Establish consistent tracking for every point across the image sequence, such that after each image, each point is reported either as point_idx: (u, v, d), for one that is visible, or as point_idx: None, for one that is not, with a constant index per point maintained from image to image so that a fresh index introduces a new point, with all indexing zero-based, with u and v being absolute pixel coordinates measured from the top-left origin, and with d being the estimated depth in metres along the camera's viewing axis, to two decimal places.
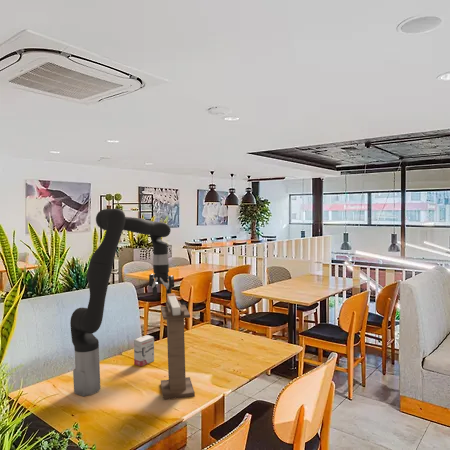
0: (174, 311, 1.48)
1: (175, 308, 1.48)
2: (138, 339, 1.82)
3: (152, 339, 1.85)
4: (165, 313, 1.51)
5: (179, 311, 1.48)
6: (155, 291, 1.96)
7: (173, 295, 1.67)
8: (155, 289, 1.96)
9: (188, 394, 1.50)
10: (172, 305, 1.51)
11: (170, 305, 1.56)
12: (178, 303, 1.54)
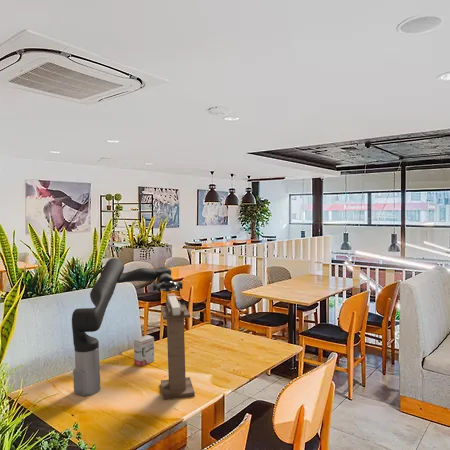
0: (174, 311, 1.48)
1: (175, 308, 1.48)
2: (138, 339, 1.82)
3: (152, 339, 1.85)
4: (165, 313, 1.51)
5: (179, 311, 1.48)
6: None
7: (173, 295, 1.67)
8: None
9: (188, 394, 1.50)
10: (172, 305, 1.51)
11: (170, 305, 1.56)
12: (178, 303, 1.54)
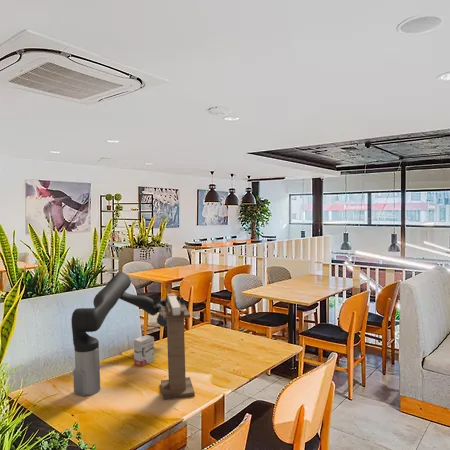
0: (174, 311, 1.48)
1: (175, 308, 1.48)
2: (138, 339, 1.82)
3: (152, 339, 1.85)
4: (165, 313, 1.51)
5: (179, 311, 1.48)
6: None
7: (173, 295, 1.67)
8: None
9: (188, 394, 1.50)
10: (172, 305, 1.51)
11: (170, 305, 1.56)
12: (178, 303, 1.54)
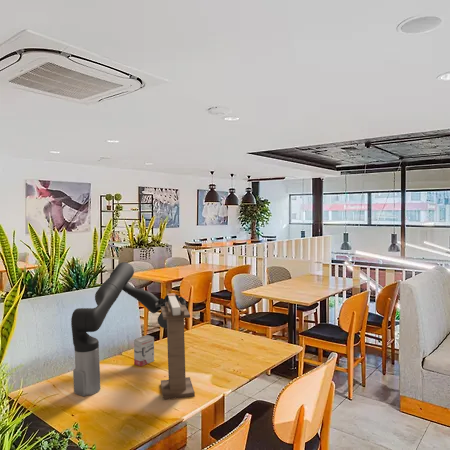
0: (174, 311, 1.48)
1: (175, 308, 1.48)
2: (138, 339, 1.82)
3: (152, 339, 1.85)
4: (165, 313, 1.51)
5: (179, 311, 1.48)
6: None
7: (173, 295, 1.67)
8: None
9: (188, 394, 1.50)
10: (172, 305, 1.51)
11: (170, 305, 1.56)
12: (178, 303, 1.54)
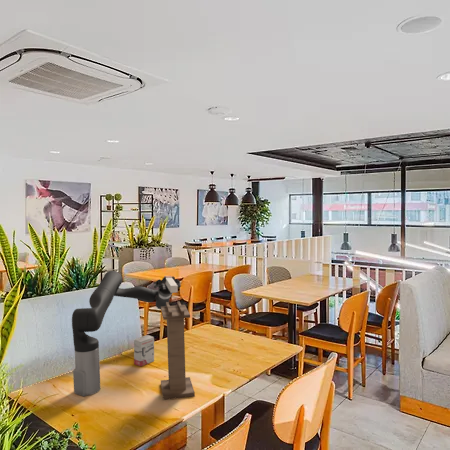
0: (172, 289, 1.68)
1: (173, 286, 1.69)
2: (138, 339, 1.82)
3: (152, 339, 1.85)
4: (165, 313, 1.51)
5: (176, 289, 1.69)
6: None
7: (170, 277, 1.88)
8: None
9: (188, 394, 1.50)
10: (170, 284, 1.72)
11: (168, 284, 1.77)
12: None
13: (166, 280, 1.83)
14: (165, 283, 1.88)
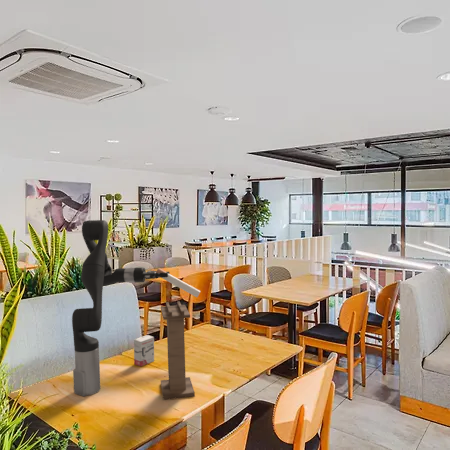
0: (198, 294, 1.95)
1: (199, 292, 1.95)
2: (138, 339, 1.82)
3: (152, 339, 1.85)
4: (165, 313, 1.51)
5: None
6: None
7: (165, 272, 1.98)
8: None
9: (188, 394, 1.50)
10: (193, 288, 1.95)
11: (182, 285, 1.95)
12: None
13: (171, 277, 1.95)
14: (162, 277, 1.95)
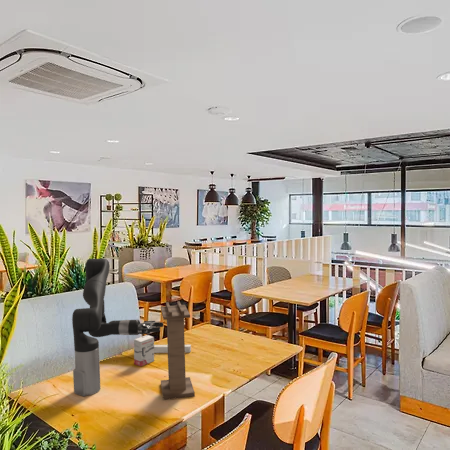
0: (190, 348, 1.97)
1: (190, 346, 1.97)
2: (138, 339, 1.82)
3: (152, 339, 1.85)
4: (165, 313, 1.51)
5: (190, 347, 1.99)
6: None
7: None
8: None
9: (188, 394, 1.50)
10: None
11: None
12: None
13: (158, 348, 1.97)
14: None
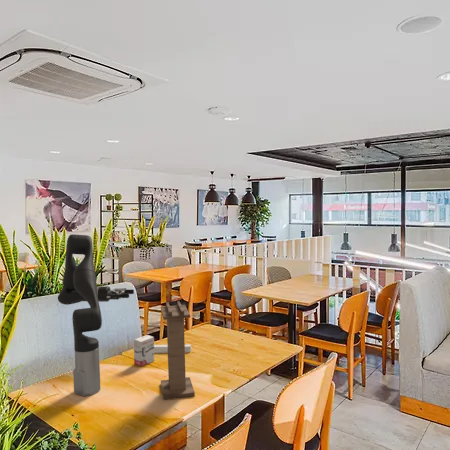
0: (190, 348, 1.97)
1: (190, 346, 1.98)
2: (138, 339, 1.82)
3: (152, 339, 1.85)
4: (165, 313, 1.51)
5: None
6: None
7: None
8: None
9: (188, 394, 1.50)
10: None
11: None
12: None
13: (158, 348, 1.97)
14: None
